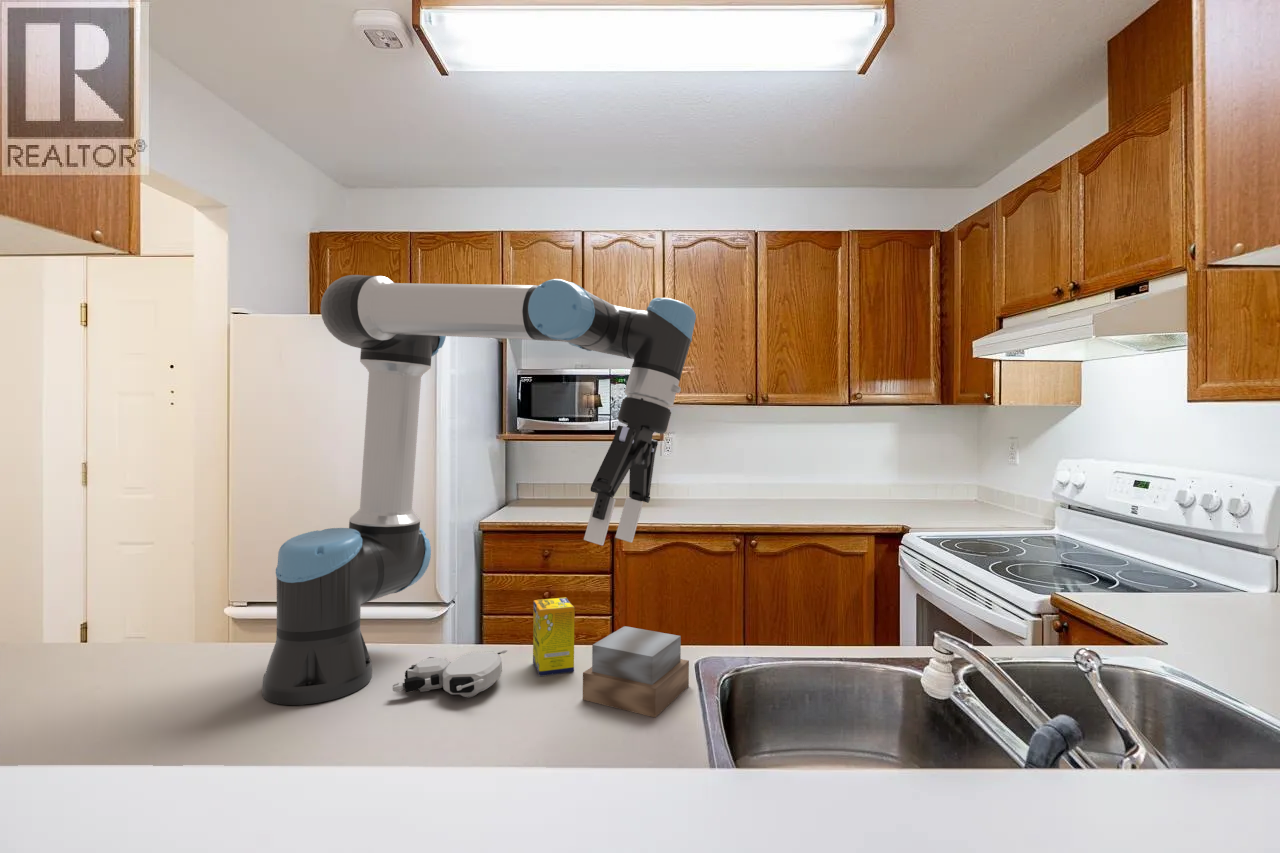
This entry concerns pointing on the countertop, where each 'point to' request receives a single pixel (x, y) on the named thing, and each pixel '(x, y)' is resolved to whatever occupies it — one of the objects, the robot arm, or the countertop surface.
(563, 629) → the supplement box
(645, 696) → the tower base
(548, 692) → the countertop surface
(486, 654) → the robot toy
